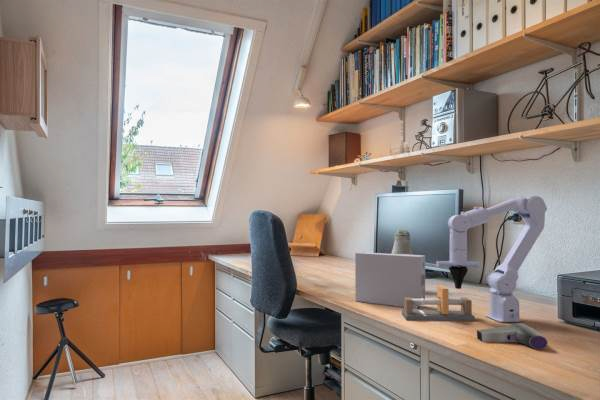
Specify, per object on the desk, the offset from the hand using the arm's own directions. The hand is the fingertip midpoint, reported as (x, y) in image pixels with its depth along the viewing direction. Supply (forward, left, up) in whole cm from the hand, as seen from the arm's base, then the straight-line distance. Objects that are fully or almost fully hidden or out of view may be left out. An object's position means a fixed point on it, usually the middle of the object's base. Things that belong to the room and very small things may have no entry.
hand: (458, 288), depth 150 cm
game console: (+25, +15, -11) cm, 32 cm away
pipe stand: (+1, +7, -10) cm, 13 cm away
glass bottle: (+51, 0, -11) cm, 52 cm away
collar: (+1, +5, -8) cm, 10 cm away
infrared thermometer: (-29, 0, -11) cm, 31 cm away
